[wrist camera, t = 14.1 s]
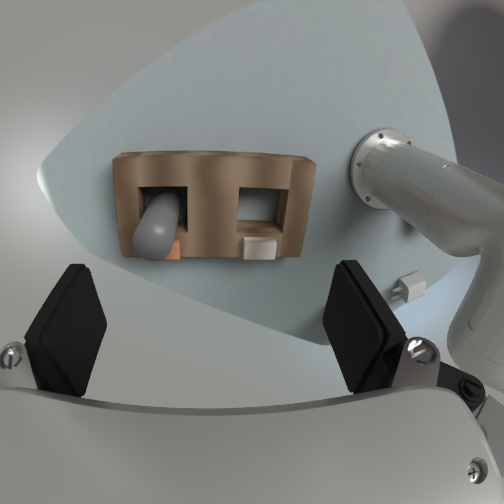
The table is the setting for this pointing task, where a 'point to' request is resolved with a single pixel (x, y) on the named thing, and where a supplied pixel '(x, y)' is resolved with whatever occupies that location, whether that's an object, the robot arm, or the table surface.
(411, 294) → the usb wall charger
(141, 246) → the charcoal plug
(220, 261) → the table surface
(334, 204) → the table surface
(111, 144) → the table surface
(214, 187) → the socket block
